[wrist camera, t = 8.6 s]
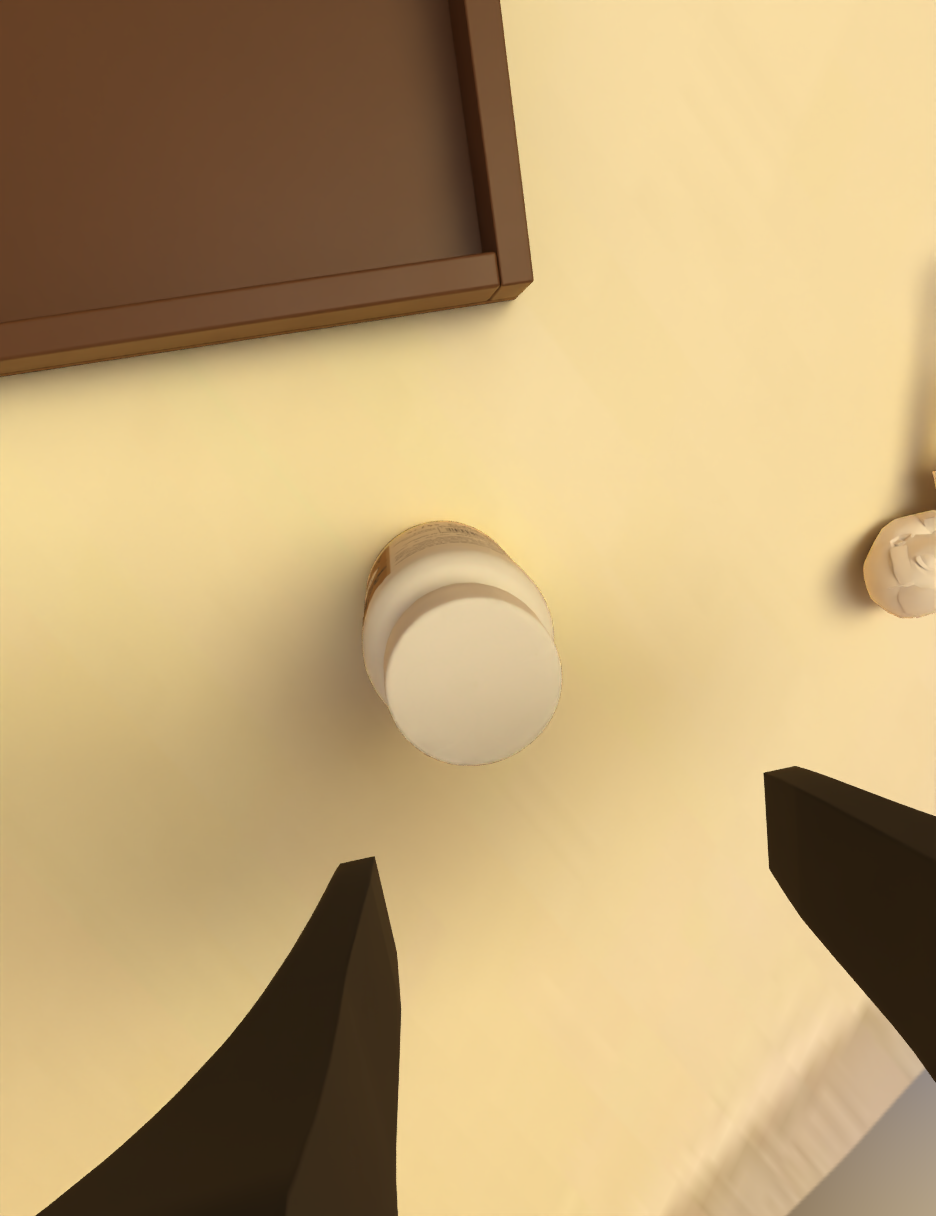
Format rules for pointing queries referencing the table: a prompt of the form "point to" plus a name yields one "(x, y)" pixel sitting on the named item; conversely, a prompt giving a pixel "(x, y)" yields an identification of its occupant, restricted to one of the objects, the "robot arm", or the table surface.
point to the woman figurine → (904, 566)
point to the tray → (248, 171)
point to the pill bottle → (459, 645)
